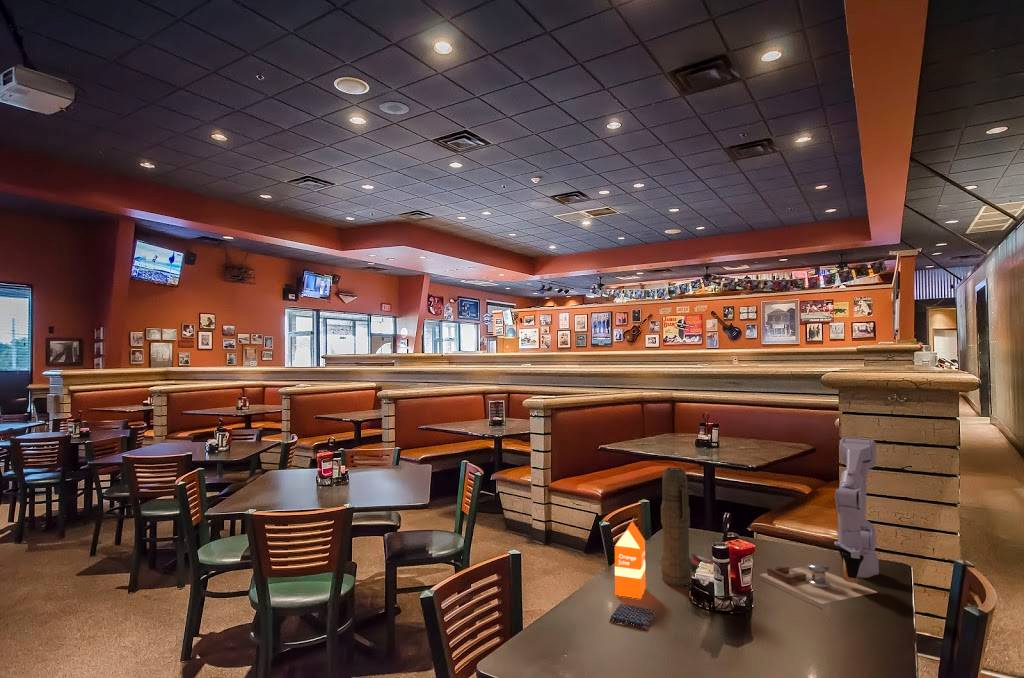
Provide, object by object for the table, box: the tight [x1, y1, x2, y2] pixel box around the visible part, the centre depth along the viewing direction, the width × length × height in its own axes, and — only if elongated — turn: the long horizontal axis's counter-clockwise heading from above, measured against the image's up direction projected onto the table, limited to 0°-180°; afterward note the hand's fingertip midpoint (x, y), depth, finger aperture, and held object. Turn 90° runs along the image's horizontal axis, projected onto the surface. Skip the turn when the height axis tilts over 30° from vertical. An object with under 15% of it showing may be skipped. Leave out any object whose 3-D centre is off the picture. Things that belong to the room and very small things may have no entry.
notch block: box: [766, 565, 806, 584], centre depth 176 cm, size 8×8×2 cm
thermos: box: [660, 466, 692, 587], centre depth 178 cm, size 9×12×35 cm
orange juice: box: [614, 520, 646, 600], centre depth 170 cm, size 8×9×20 cm
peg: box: [842, 558, 859, 584], centre depth 168 cm, size 4×4×7 cm
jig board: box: [759, 565, 878, 610], centre depth 172 cm, size 22×23×2 cm
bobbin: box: [806, 561, 831, 588], centre depth 171 cm, size 6×6×6 cm
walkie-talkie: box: [690, 553, 711, 572], centre depth 188 cm, size 9×4×20 cm
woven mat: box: [609, 603, 656, 631], centre depth 152 cm, size 10×11×2 cm
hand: (850, 574), depth 168 cm, fingers closed on peg, 4 cm apart
